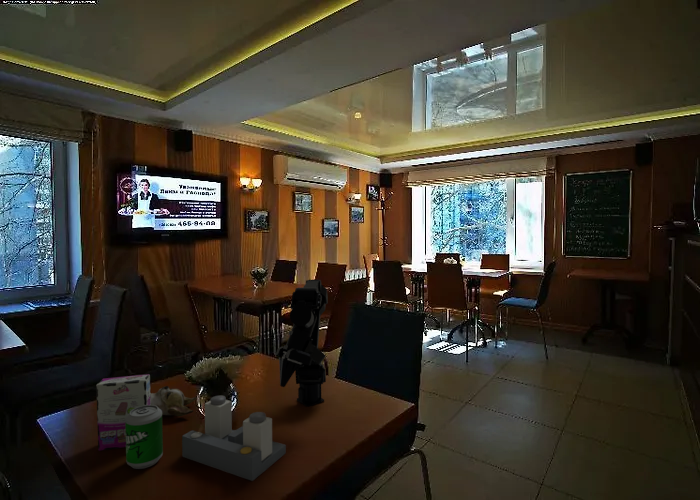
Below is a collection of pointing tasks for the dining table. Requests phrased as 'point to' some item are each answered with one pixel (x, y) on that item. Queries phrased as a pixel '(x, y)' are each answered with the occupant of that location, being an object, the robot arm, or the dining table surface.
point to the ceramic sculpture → (171, 401)
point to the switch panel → (229, 453)
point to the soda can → (144, 436)
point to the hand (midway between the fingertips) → (282, 386)
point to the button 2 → (258, 433)
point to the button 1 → (218, 417)
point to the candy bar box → (118, 407)
